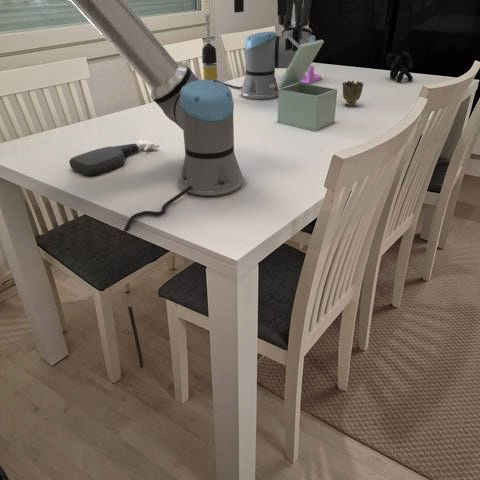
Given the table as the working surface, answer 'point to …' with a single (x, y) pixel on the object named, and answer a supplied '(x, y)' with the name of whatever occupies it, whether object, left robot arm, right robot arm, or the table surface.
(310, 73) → the bracket
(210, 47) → the filter
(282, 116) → the chest
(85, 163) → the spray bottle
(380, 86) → the table surface
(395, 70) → the squiggle
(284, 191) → the table surface
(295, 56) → the lid
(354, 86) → the cup
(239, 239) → the table surface
